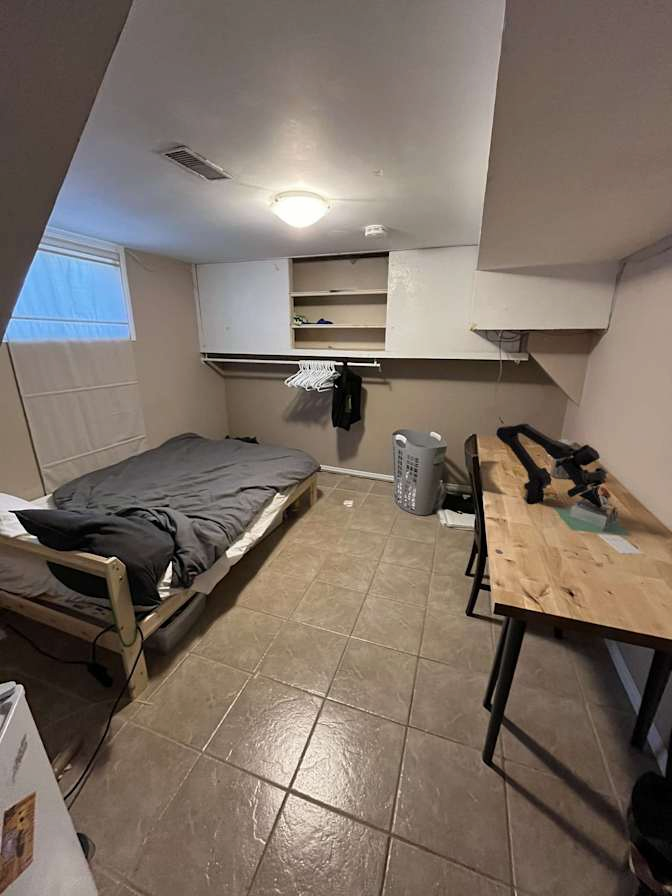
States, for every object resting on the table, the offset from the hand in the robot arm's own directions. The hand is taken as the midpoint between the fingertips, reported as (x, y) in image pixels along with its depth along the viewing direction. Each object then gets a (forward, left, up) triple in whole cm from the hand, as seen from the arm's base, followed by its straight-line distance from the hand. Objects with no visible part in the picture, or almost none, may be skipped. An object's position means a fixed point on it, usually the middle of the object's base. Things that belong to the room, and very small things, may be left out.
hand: (600, 506), depth 141 cm
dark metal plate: (-1, +1, -1) cm, 2 cm away
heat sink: (-1, +1, -7) cm, 7 cm away
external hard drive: (+1, -16, -9) cm, 18 cm away
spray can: (+5, +57, -8) cm, 58 cm away
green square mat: (-2, +1, -8) cm, 8 cm away
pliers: (+12, +32, -9) cm, 35 cm away
